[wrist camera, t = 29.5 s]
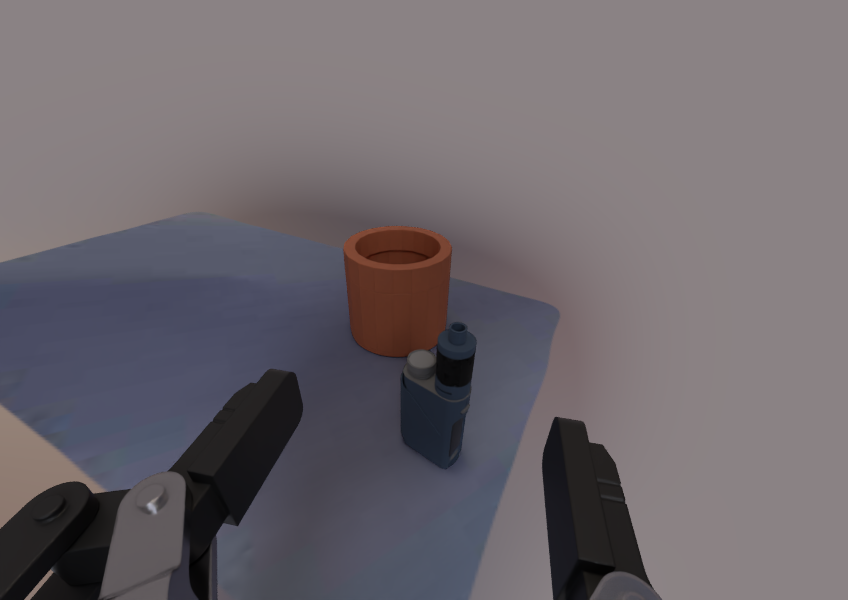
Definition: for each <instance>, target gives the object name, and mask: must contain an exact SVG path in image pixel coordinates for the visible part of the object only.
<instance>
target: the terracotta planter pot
mask: <svg viewBox="0 0 848 600" xmlns="http://www.w3.org/2000/svg"><path fill="white" fill-rule="evenodd" d="M343 251H344V262H345V272H346V283H347V293H348V304H349V315H350V325H351V331H352V335H353V337H354V339H355V341H356V342H357V343H358V344H359V345H360V346H361V347H363V348H364V349H366V350H368V351H370V352H372V353H375V354H379V355H383V356H390V357H406V356H408V355H409V354H410V353H411V352H412V351H415V350H420V349H422V350H429V349H431V348H433V347H434V346H435V345H437V342H438V336H439V334H440V333H441V332H443V331H445V326H446V318H447V305H448V292H449V280H450V267H451V254H452V247H451V245H450V243H449V241H448V240H447V239H446V238H444V237H443V236H441V235H440V234H437V233H435V232H433V231H430V230H426V229H421V228H416V227H406V226H387V227H379V228H372V229H369V230H365V231H362V232H359V233H357V234H355V235H353V236H351V237H350V238H349V239H348V240H347V241H346V242H345V244H344V249H343Z"/></svg>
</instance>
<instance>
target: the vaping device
mask: <svg viewBox="0 0 848 600" xmlns="http://www.w3.org/2000/svg"><path fill="white" fill-rule="evenodd" d="M476 343H477V342H476V338H475V337H474V335H473V334H471V333H470V332H468V331H467V326H466V325H465V324H463V323H460V322H454V323H452V324H451V325H450V326H449V329H447V330H445V331H443V332H441V333H440V334H439V336H438V342H437V357H436V356H435V355H434V354H433V353H432V352H430V351H428V350H422V349H420V350H415V351H412V352H411V353H410V354H409V355H408V357H407V364H406V365H405V366H404V369H403V372H402V374H401V433H402V436H404V441H405V443H406V444H407V445H409V446H410V447H412V448H413V449H415V450H416V451H417V452H419V453H420V454H422V455H423V456H425V457H426V458H427V459H429V460H430V461H432V462H433V463H435V464H436V465H438V466H439V467H441V468H444V469H447V467H449V466H451V465H452V464H454V463H455V462H456V460H457V459H458V457H459V452H460V451H461V446H462V439H463V431H464V424H465V417H466V413H467V411H468V408H469V406H470V405H469V400H470V393H471V379H472V372H473V364H474V357H475V355H474V353H475V350H476Z"/></svg>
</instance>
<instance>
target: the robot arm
mask: <svg viewBox="0 0 848 600" xmlns="http://www.w3.org/2000/svg"><path fill="white" fill-rule="evenodd" d="M302 412H303V403H302V399H301V394H300V390H299V386H298V381H297V377H296V374H295V373H293V372H288V371H282V370H276V369H269V370H268V371H266V373H265V374H264V375H263V376H262V377H261V379H260V380H259V381H258V382H257V384H256V383H250V384H248V385H247V386H245V387H244V388H242V389H241V390H239V391H238V392H236V393H235V394H234V395H233V396H232V397H231V399H230V400H229V401H228V402H227V403H226V404H225V406H224V407H223V410H220V411H219V413H218V414H217V415H216V416H215V417H214V419H213V422H210V423H209V424H208V426H207V427H206V428H205V429H204V430H203V431H202V433H201V434H200V435H199V436H198V437H197V439H196V440H195V441H194V442H193V443H192V444H191V446H190V447H189V448H188V449H187V450H186V451H185V453H184V454H183V455H182V456H181V457H180V458H179V460H178V461H177V462H176V463H175V464H174V465H173V466H172V467H171V469H169V470H168V471H167V472H161V473H157V474H154V475H152V476H150V477H148V478H146V479H144V480H142V481H141V482H139V483H138V484H137V485H135V486H134V487H133V488H132V489H127V490H119V491H111V492H103V493H95V494H93V493H92V492H91V491H90V489H89V488H88V487H87V486H86V485H85V484H83V483H81V482H66V483H62V484H59V485H56V486H54V487H52V488H50V489H48V490H46V491H44V492H42V493H41V494H39V495H37V496H36V497H35V498H33V499H32V500H31V501H30V502H28V503H27V504H26V505H25V506H24V507H23V508H22V509H21V510H20V511H19V512H18V513H17V514H16V515H14V516H13V517H12V518H11V519H10V520H9V521H8V522H7V523H6V524H5V525H4V526H3V527H2V528H1V529H0V600H24V599H25V598H26V597H27V596H28V594H29V593H30V592H31V591H32V590H33V589H34V588H35V586H36V585H37V584H38V583H39V581H41V579H42V578H43V577H44V576H45V575H46V574H47V572H48V571H49V570H50V569H51V570H52V571H53V572H54V573H53V574H52V575H51V576H50V577H49V579H48V580H47V581H46V582H45V583H44V584H43V586H42V587H41V588H40V589H39V590H38V591H37V593H36V594H35V595H34V596H33V597H32V598H31V600H217V537H216V534H217V532H218V530H219V529H220V527H221V526H222V524H223V523H226V524H231V525H235V526H238V525H239V523H240V521H241V520H242V518H243V516H244V515H245V513H246V511H247V510H248V508H249V506H250V505H251V503H252V501H253V500H254V498H255V496H256V495H257V493H258V491H259V490H260V488H261V486H262V485H263V483H264V481H265V480H266V478H267V476H268V474H269V473H270V471H271V469H272V468H273V466H274V464H275V463H276V461H277V459H278V458H279V456H280V454H281V453H282V451H283V449H284V448H285V446H286V444H287V443H288V441H289V439H290V438H291V436H292V434H293V433H294V431H295V429H296V428H297V426H298V424H299V422H300V420H301V416H302ZM542 472H543V484H544V496H545V508H546V519H547V530H548V542H549V553H550V566H551V578H552V589H553V600H662V599H661V598H660V596H659V595H658V594H657V593H656V592H655V590H654V589H653V587H652V585H651V584H650V582H649V580H648V577H647V575H646V572H645V569H644V566H643V562H642V559H641V555H640V551H639V548H638V544H637V540H636V537H635V533H634V529H633V526H632V523H631V519H630V515H629V511H628V508H627V504H625V497H624V493H623V490H622V487H621V486H620V484H621V482H620V478H619V475H618V472H617V468H616V464H615V462H614V461H613V459H612V458H611V456H610V455H609V454H608V452H607V450H606V449H605V448H604V446H603V445H601V444H596V443H590V442H589V440H588V435H587V431H586V427H585V424H584V422H582V421H578V420H572V419H566V418H560V417H555V418H554V420H553V423H552V426H551V429H550V432H549V435H548V439H547V442H546V445H545V448H544V452H543V460H542Z"/></svg>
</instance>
